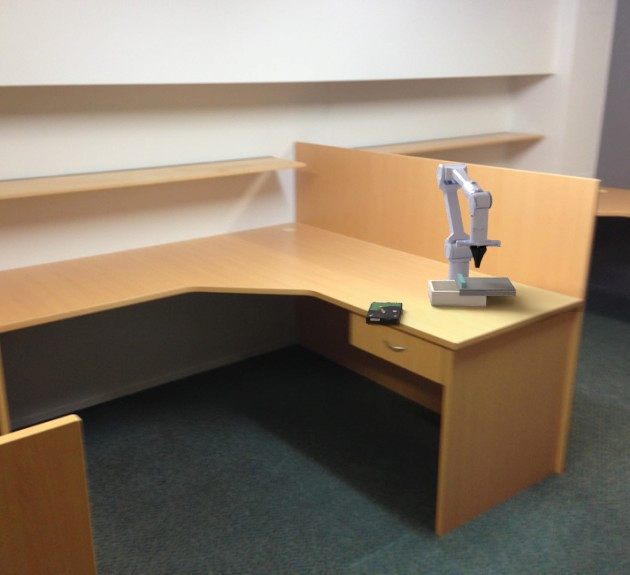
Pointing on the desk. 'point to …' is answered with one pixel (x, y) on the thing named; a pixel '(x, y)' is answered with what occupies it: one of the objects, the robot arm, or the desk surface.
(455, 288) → the box
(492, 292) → the lid
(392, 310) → the disk drive
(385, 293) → the desk surface
